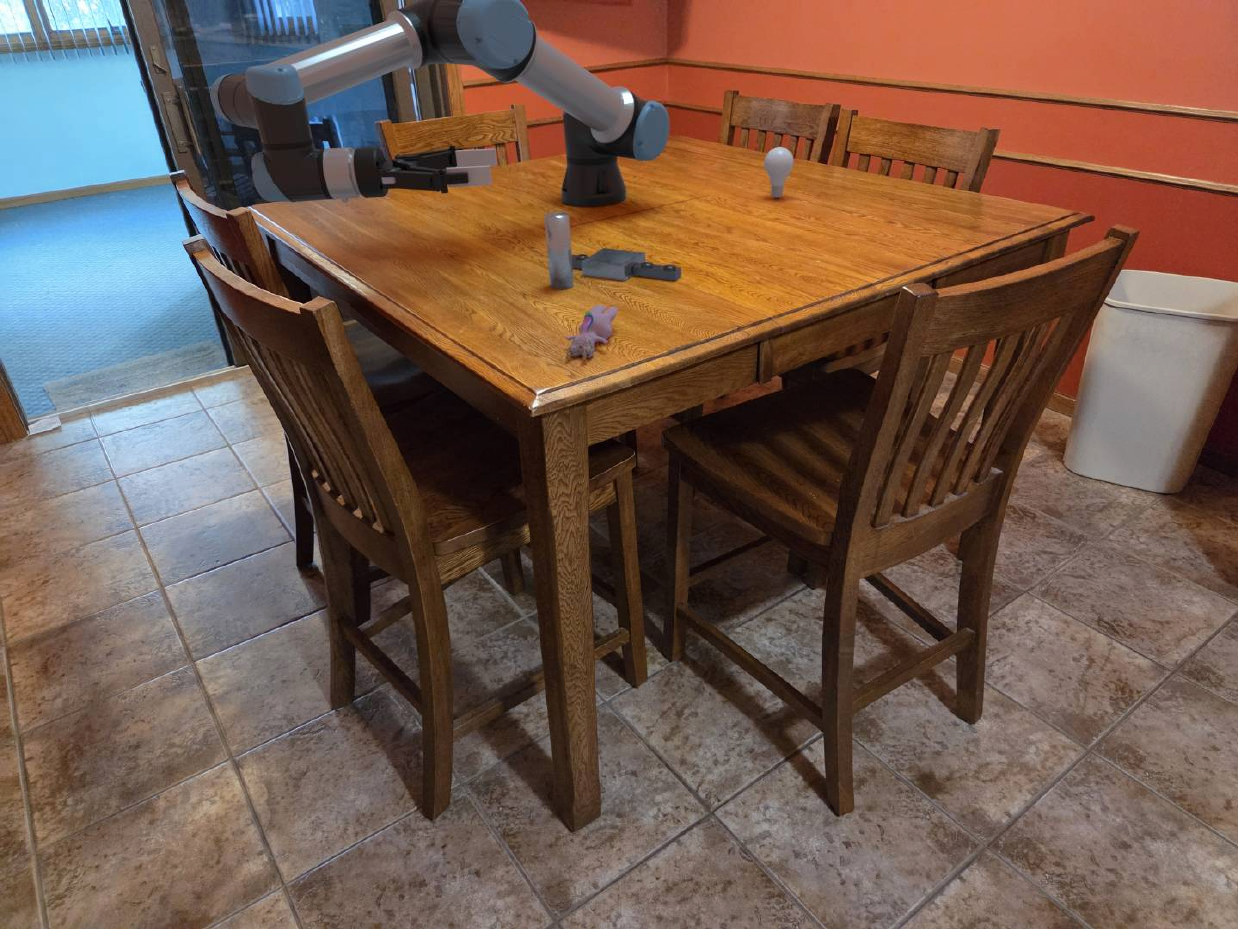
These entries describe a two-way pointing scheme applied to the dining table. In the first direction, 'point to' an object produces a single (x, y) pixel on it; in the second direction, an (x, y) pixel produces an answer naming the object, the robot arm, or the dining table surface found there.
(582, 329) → the purple toy figure
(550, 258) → the pin
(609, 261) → the grey mounting bracket
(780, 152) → the lightbulb
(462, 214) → the dining table surface
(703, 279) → the dining table surface
